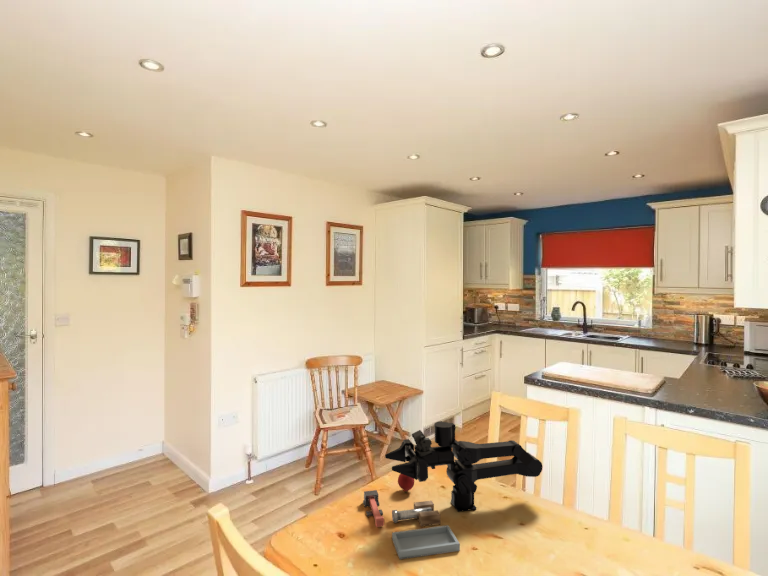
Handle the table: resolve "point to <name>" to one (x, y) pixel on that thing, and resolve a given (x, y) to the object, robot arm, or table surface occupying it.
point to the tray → (425, 542)
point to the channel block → (427, 514)
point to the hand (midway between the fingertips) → (388, 462)
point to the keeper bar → (376, 512)
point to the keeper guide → (366, 501)
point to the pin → (408, 514)
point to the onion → (405, 482)
